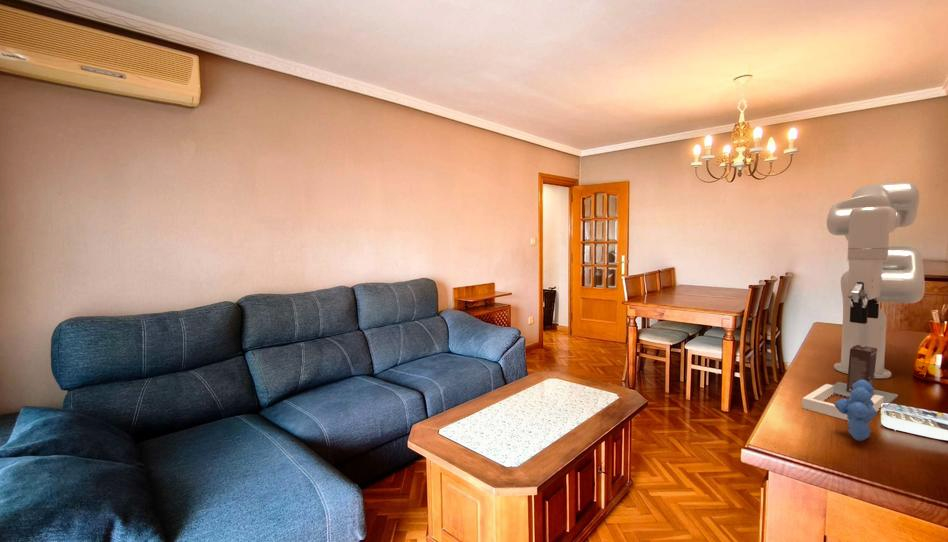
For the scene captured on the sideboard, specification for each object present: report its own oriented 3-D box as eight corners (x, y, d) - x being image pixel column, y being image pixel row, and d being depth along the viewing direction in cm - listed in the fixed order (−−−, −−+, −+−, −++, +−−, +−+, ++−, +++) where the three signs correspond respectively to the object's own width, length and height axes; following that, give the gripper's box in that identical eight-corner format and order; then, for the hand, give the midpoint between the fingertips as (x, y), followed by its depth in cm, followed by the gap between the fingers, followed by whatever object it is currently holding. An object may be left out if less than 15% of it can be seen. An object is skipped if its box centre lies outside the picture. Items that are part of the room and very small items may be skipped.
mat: (838, 383, 115) (838, 381, 115) (898, 396, 105) (898, 394, 105) (824, 391, 109) (824, 390, 109) (886, 406, 99) (886, 404, 99)
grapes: (836, 421, 92) (838, 370, 91) (878, 431, 87) (881, 377, 86) (828, 439, 84) (830, 383, 83) (873, 451, 79) (876, 391, 78)
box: (868, 397, 104) (871, 351, 103) (845, 392, 108) (847, 347, 107) (875, 392, 107) (877, 347, 106) (852, 387, 111) (854, 344, 110)
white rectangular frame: (826, 392, 108) (826, 383, 108) (883, 406, 99) (883, 396, 99) (801, 408, 99) (802, 398, 99) (862, 424, 90) (862, 413, 90)
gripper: (858, 253, 112) (855, 314, 114) (836, 256, 103) (834, 322, 104) (896, 253, 106) (893, 317, 107) (877, 257, 97) (874, 327, 98)
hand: (864, 320), depth 106 cm, fingers open, 9 cm apart
